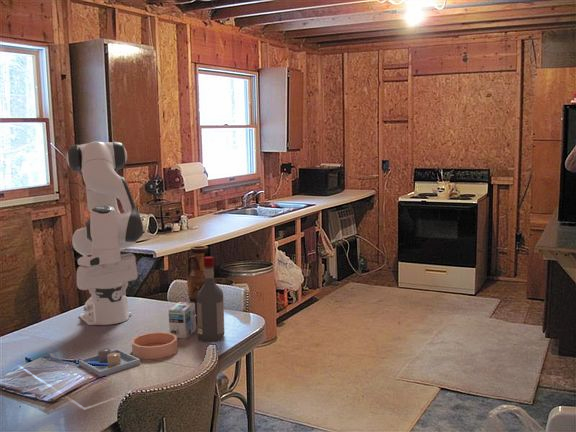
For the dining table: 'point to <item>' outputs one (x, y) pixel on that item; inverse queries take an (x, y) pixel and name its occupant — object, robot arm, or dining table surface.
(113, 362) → the tan wooden cube
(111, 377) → the dining table surface
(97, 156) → the robot arm
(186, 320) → the light bulb box
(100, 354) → the grey cube
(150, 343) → the bowl
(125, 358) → the parts tray
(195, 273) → the vase
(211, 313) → the liquor
